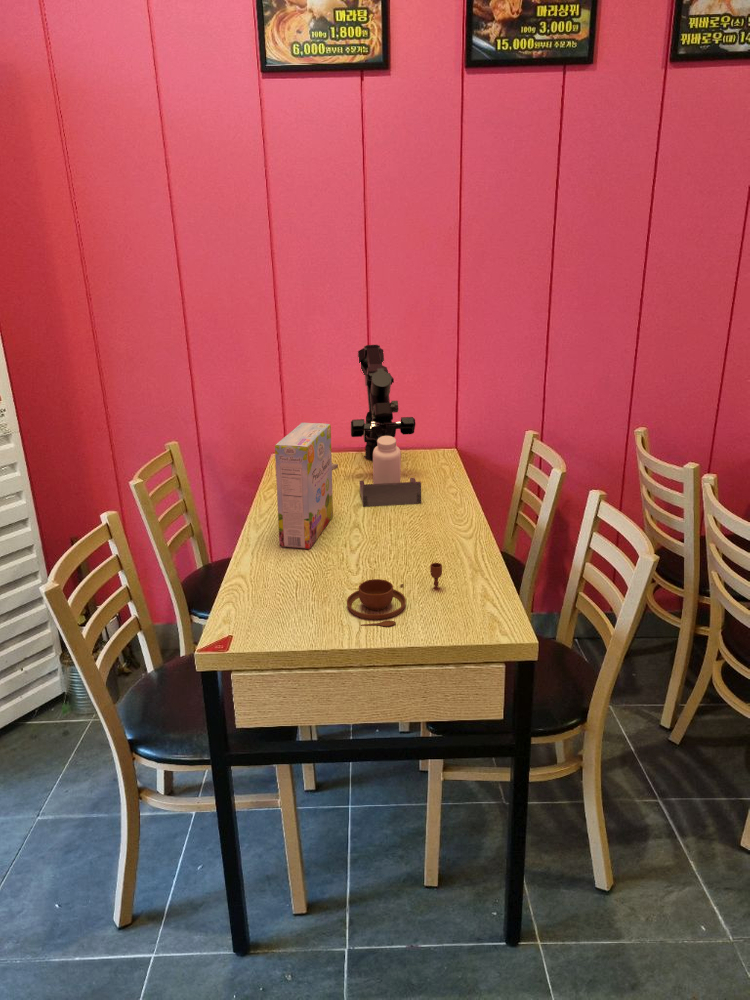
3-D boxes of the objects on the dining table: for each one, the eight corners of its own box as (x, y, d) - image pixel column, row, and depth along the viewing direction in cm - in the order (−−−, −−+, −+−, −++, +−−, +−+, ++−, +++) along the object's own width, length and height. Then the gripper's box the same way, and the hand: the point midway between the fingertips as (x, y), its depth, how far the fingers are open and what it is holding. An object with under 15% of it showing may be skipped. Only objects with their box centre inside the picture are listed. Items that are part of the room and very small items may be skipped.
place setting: (348, 588, 159) (347, 563, 157) (442, 586, 159) (442, 561, 157) (345, 630, 143) (344, 603, 141) (449, 628, 143) (450, 600, 141)
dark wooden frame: (359, 490, 215) (359, 470, 213) (414, 487, 216) (414, 467, 214) (363, 506, 203) (362, 486, 201) (421, 503, 204) (421, 482, 202)
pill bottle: (369, 490, 214) (369, 444, 206) (377, 476, 220) (377, 431, 212) (396, 494, 212) (396, 448, 204) (403, 480, 219) (404, 435, 210)
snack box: (313, 550, 177) (307, 446, 168) (278, 548, 178) (270, 445, 169) (336, 516, 197) (331, 421, 188) (304, 515, 198) (298, 421, 189)
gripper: (349, 392, 213) (353, 439, 207) (414, 389, 215) (420, 436, 208) (349, 413, 223) (352, 458, 217) (410, 410, 225) (416, 455, 218)
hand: (385, 452), depth 215 cm, fingers closed
